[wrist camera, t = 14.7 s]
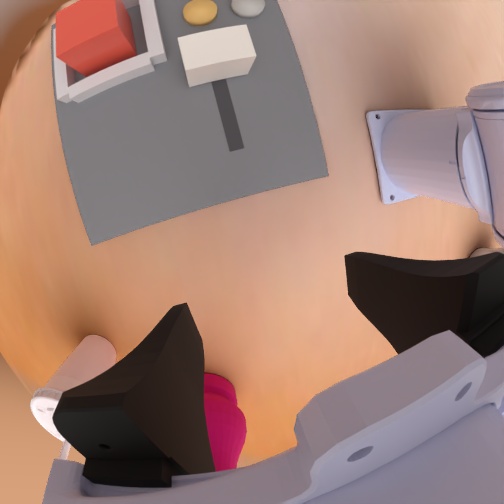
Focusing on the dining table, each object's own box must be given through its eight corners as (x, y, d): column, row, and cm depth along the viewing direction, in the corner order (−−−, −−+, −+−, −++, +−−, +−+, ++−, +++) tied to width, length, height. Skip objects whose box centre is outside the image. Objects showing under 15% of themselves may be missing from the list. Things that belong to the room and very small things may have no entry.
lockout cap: (130, 18, 12) (113, -15, 8) (137, 56, 14) (118, 26, 9) (83, 39, 12) (56, 13, 7) (87, 77, 14) (56, 57, 9)
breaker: (239, 46, 15) (246, 24, 11) (247, 74, 15) (256, 56, 12) (182, 58, 14) (177, 37, 11) (189, 87, 15) (185, 70, 12)
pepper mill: (246, 407, 26) (287, 574, 7) (182, 417, 25) (190, 581, 7) (231, 362, 24) (277, 578, 5) (158, 374, 23) (145, 577, 4)
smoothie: (89, 377, 22) (52, 487, 9) (59, 327, 20) (-8, 436, 7) (140, 371, 23) (118, 500, 9) (111, 316, 21) (51, 451, 7)
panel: (257, -29, 13) (263, -46, 11) (322, 175, 20) (338, 177, 17) (57, 30, 12) (44, 19, 9) (97, 241, 18) (83, 252, 16)
